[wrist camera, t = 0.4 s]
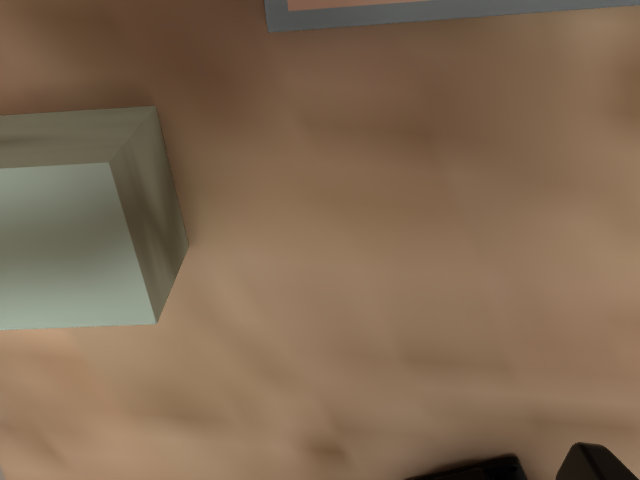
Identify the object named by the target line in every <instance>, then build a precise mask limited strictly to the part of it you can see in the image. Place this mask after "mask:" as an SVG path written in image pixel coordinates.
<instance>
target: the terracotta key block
mask: <svg viewBox="0 0 640 480" xmlns="http://www.w3.org/2000/svg"><path fill="white" fill-rule="evenodd" d="M415 1H428V0H287V2H288V11H297V10H310V9H323V8H337V7H350V6H363V5H376V4H389V3H402V2H415Z"/></svg>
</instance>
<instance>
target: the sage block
mask: <svg viewBox="0 0 640 480" xmlns="http://www.w3.org/2000/svg"><path fill="white" fill-rule="evenodd" d="M188 247H189V245H188V241H187V236H186V232H185V228H184V224H183V220H182V215H181V211H180V207H179V203H178V198H177V194H176V190H175V186H174V181H173V177H172V173H171V169H170V165H169V160H168V156H167V152H166V148H165V143H164V139H163V135H162V131H161V126H160V122H159V118H158V114H157V110H156V106H142V107H126V108H110V109H94V110H79V111H63V112H47V113H32V114H16V115H0V330H17V329H42V328H68V327H93V326H118V325H143V324H157V322H158V320H159V317H160V315H161V312H162V310H163V307H164V305H165V303H166V300H167V298H168V295H169V293H170V291H171V288H172V286H173V283H174V281H175V278H176V276H177V274H178V271H179V269H180V266H181V264H182V262H183V259H184V257H185V254H186V252H187V249H188Z"/></svg>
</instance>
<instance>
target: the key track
mask: <svg viewBox="0 0 640 480" xmlns="http://www.w3.org/2000/svg"><path fill="white" fill-rule="evenodd" d="M264 5H265V13H266V21H267V30H268V33H269V32H283V31H296V30H309V29H323V28H336V27H350V26H363V25H377V24H390V23H404V22H417V21H431V20H444V19H458V18H471V17H485V16H498V15H512V14H525V13H539V12H552V11H566V10H579V9H593V8H606V7H619V6H633V5H640V0H428V1H415V2H402V3H389V4H376V5H363V6H350V7H337V8H323V9H310V10H297V11H288V2H287V0H264Z"/></svg>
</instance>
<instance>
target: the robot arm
mask: <svg viewBox="0 0 640 480" xmlns="http://www.w3.org/2000/svg"><path fill="white" fill-rule="evenodd" d="M415 480H527V477H526V475H525V473H524V470H523V468H522V465H521V463H520V460H519V459H518V458H516V457H506V458H502V459H498V460H494V461H490V462H485V463H481V464H477V465H473V466H469V467H465V468H461V469H457V470H452V471H448V472H444V473H440V474H436V475H432V476H428V477H424V478H420V479H415ZM555 480H639V479H638V478H637V477H636V476H635V475H634V474H633V473H632V472H631V471H630V470H629V469H628V468H627V467H626V466H625V465H624V464H623V463H622V462H621V461H620V460H619V459H618V458H617V457H615V456H614V455H613V454H612V453H611V452H610V451H609V450H608V449H607V448H606V447H604V446H602V445H599V444H591V443H583V442H577V443H575V444H574V445H572V447H571V448H570V450H569V452H568V454H567V456H566V458H565V460H564V462H563V463H562V465H561V467H560V469H559V471H558V473H557V475H556V479H555Z"/></svg>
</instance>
